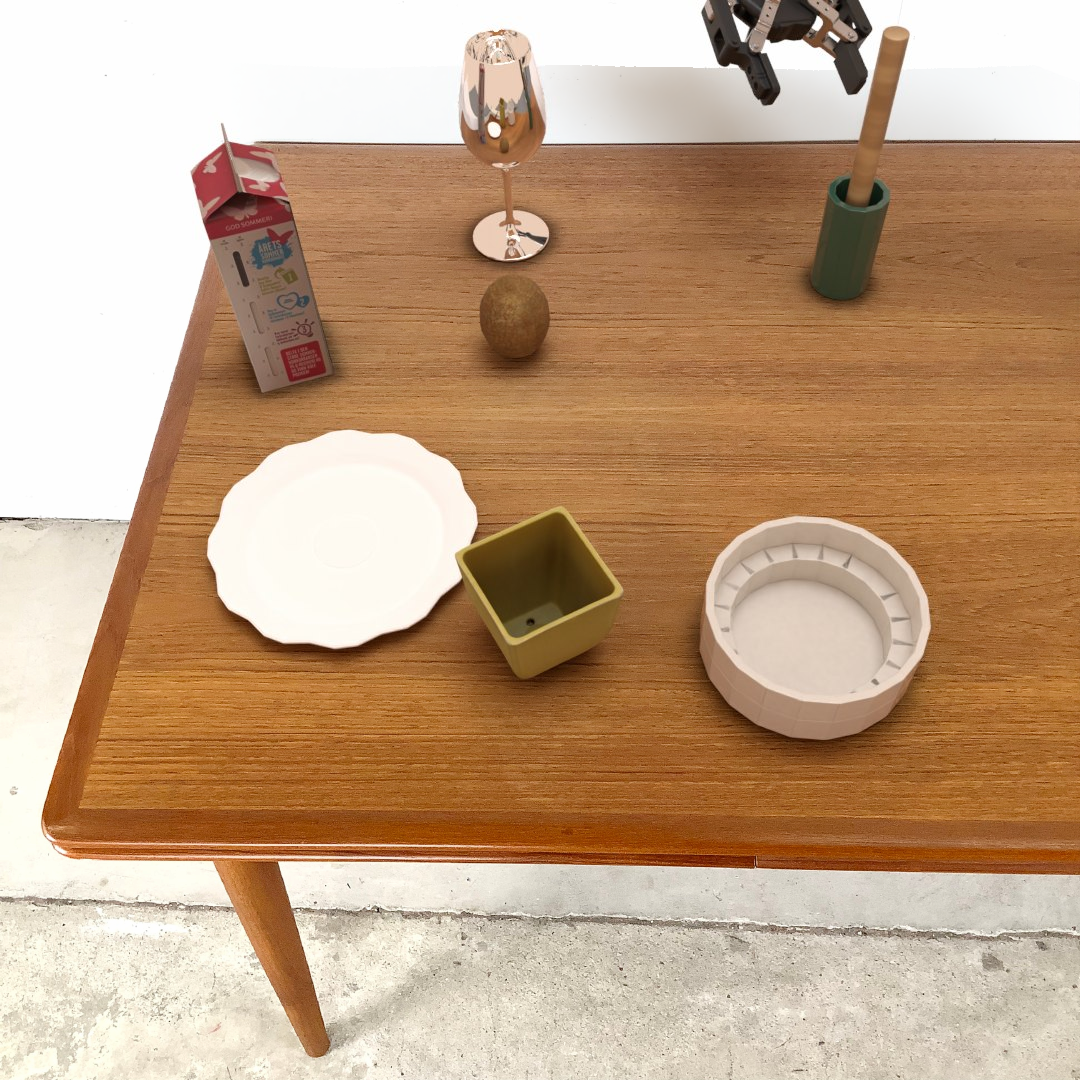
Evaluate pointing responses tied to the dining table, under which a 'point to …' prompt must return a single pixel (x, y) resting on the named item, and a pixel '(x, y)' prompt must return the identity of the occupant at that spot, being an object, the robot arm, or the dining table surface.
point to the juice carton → (262, 263)
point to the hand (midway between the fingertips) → (816, 94)
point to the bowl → (812, 626)
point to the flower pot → (541, 591)
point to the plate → (341, 538)
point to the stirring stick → (877, 114)
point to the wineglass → (503, 132)
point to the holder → (848, 241)
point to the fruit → (514, 316)
